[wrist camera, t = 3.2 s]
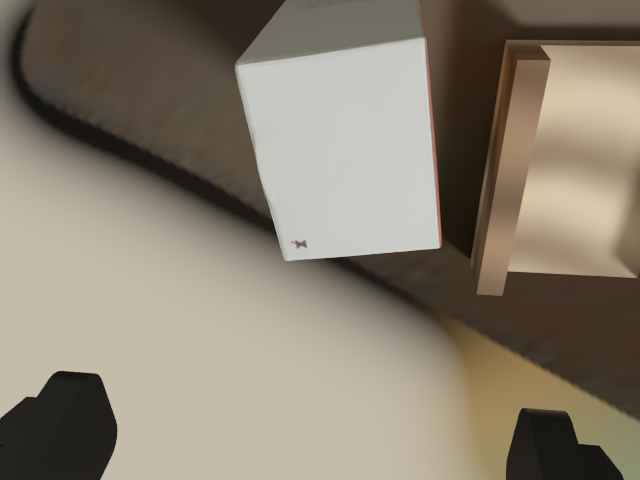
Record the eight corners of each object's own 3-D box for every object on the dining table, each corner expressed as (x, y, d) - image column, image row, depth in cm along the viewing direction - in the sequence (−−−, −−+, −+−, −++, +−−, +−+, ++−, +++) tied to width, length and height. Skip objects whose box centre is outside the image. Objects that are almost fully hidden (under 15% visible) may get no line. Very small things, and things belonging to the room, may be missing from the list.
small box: (428, 120, 32) (443, 253, 21) (319, 133, 33) (280, 266, 22) (416, -36, 27) (428, 33, 17) (290, -14, 29) (226, 63, 18)
